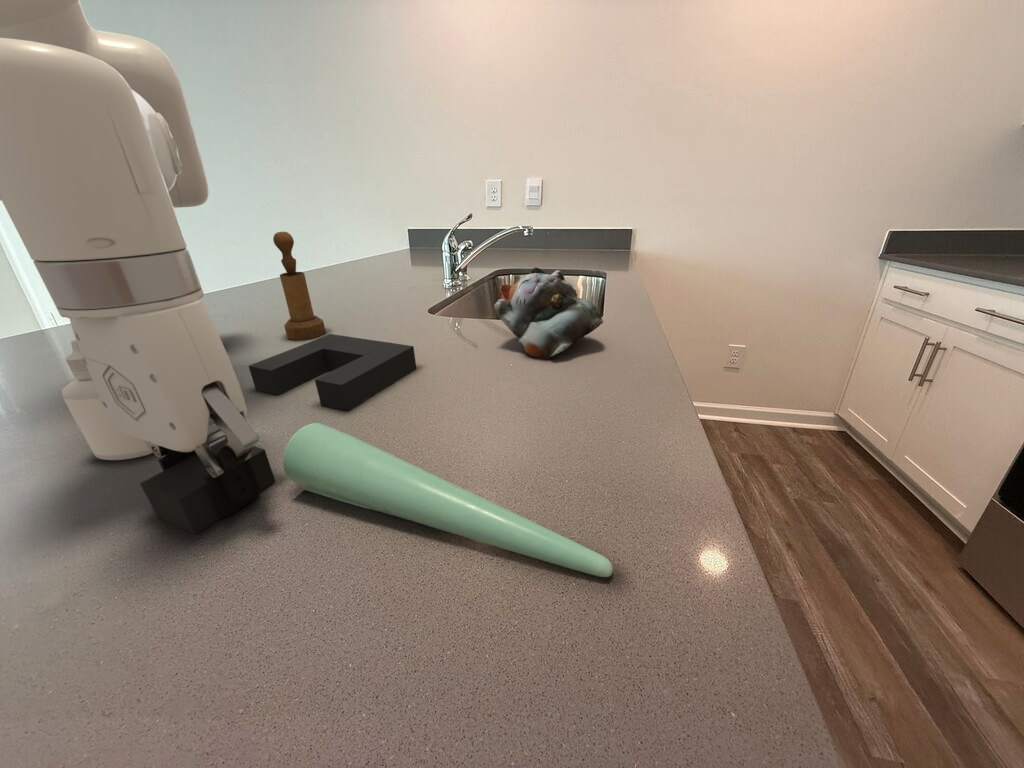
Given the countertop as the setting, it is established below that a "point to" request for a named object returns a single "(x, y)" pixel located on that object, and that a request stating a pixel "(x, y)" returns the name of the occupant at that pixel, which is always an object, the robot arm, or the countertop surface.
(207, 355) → the robot arm
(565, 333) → the lucky cat figurine
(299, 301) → the mortar and pestle
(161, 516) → the dark grey block
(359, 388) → the dark grey u-shaped block
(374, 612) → the countertop surface
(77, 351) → the eye dropper bottle
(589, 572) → the long green cone
